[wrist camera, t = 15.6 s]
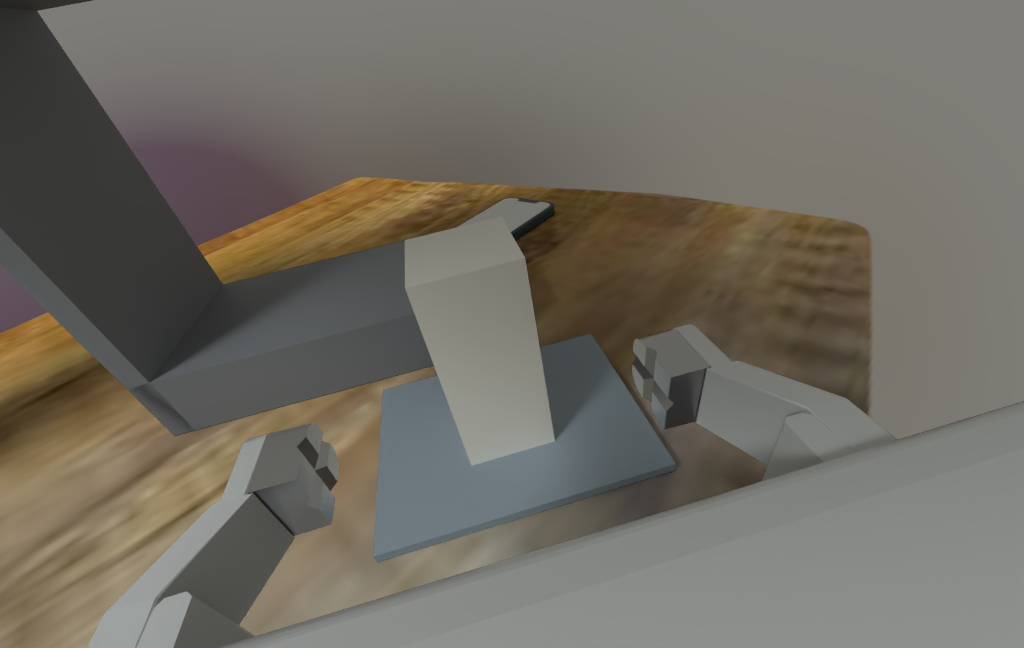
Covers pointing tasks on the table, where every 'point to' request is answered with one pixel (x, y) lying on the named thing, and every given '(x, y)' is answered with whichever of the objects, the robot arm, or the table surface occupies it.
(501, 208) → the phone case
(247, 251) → the table surface
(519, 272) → the block
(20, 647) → the table surface
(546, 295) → the table surface
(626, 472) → the mat
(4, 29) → the grey c-shaped bracket
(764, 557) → the robot arm
